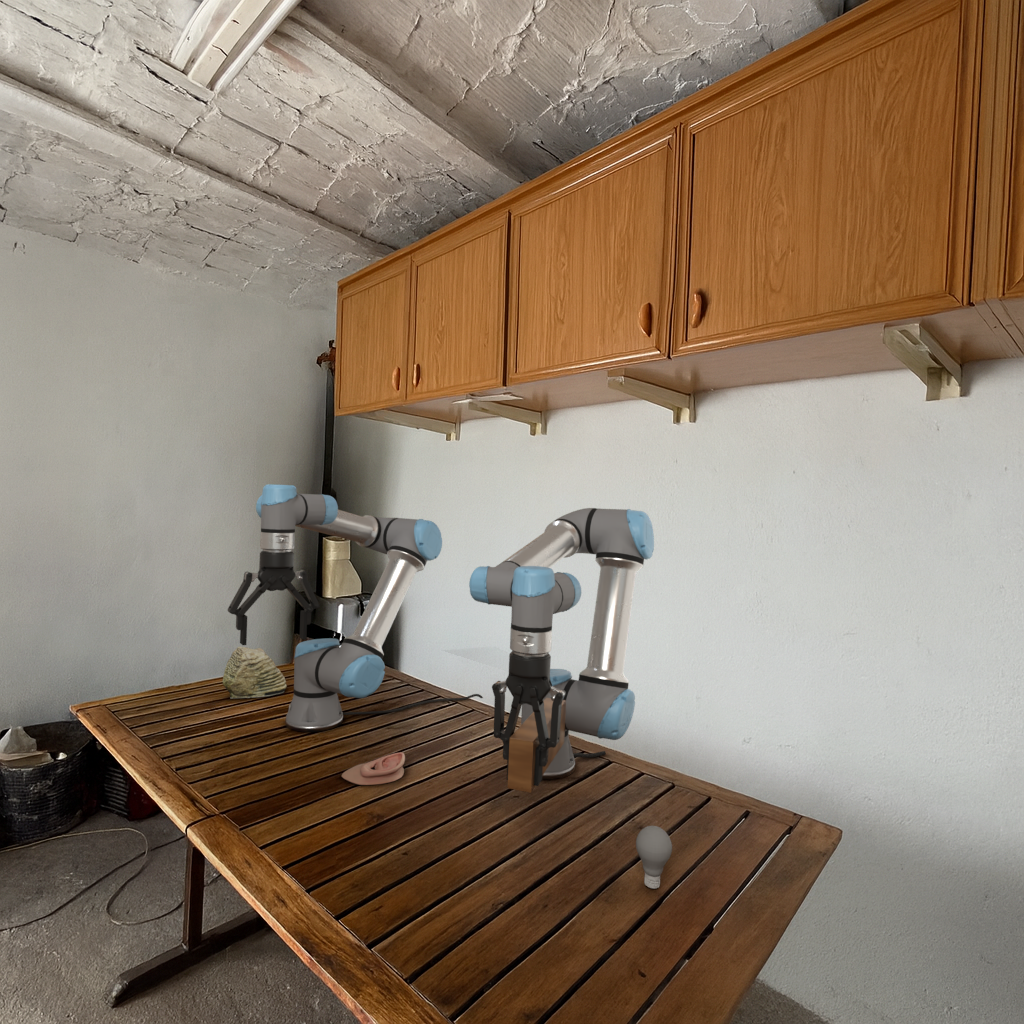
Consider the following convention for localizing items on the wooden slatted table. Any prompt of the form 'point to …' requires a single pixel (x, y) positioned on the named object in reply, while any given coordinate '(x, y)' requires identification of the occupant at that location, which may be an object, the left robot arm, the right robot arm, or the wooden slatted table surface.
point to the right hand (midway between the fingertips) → (524, 779)
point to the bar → (530, 749)
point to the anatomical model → (377, 770)
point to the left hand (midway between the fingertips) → (273, 641)
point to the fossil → (252, 674)
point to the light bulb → (653, 853)
